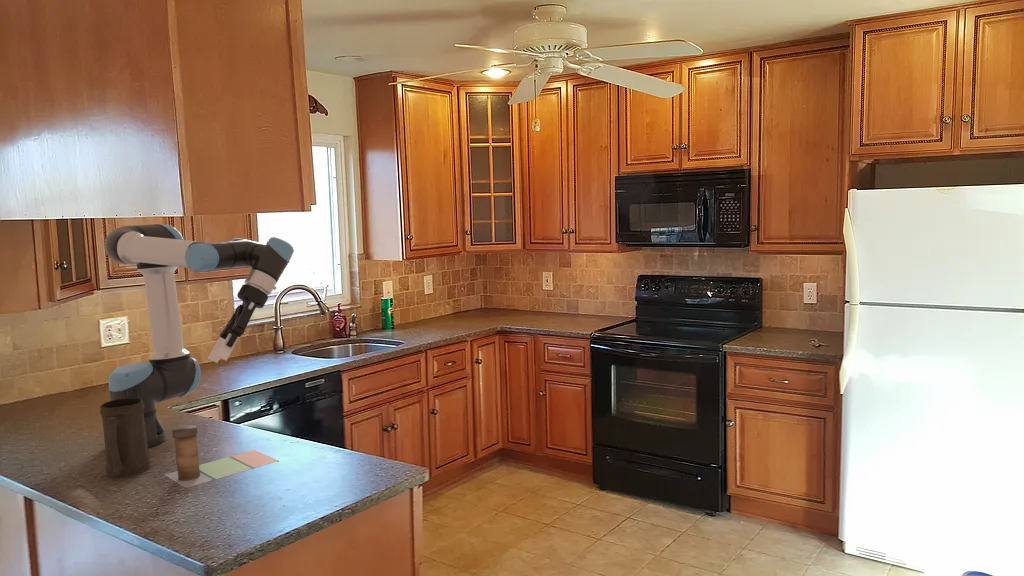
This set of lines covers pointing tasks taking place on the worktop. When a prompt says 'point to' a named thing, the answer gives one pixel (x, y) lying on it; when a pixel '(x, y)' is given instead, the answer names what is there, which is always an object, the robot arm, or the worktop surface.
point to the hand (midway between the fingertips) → (216, 359)
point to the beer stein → (125, 437)
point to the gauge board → (225, 467)
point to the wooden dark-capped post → (186, 452)
